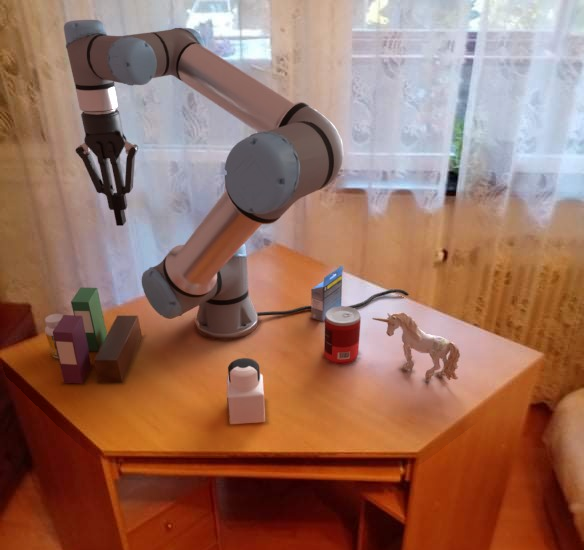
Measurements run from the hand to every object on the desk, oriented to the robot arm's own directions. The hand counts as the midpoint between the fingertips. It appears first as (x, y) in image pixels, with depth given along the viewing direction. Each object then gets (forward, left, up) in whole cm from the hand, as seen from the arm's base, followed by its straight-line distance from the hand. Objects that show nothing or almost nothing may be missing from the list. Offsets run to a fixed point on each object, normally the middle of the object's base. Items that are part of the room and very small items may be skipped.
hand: (121, 223), depth 134 cm
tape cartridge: (-47, -6, -27) cm, 54 cm away
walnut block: (+1, +16, -26) cm, 31 cm away
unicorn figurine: (-65, +22, -27) cm, 74 cm away
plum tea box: (+9, +22, -26) cm, 35 cm away
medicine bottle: (-30, +35, -27) cm, 53 cm away
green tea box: (+9, +9, -26) cm, 29 cm away
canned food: (-50, +14, -27) cm, 58 cm away
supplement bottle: (+15, +13, -27) cm, 33 cm away
